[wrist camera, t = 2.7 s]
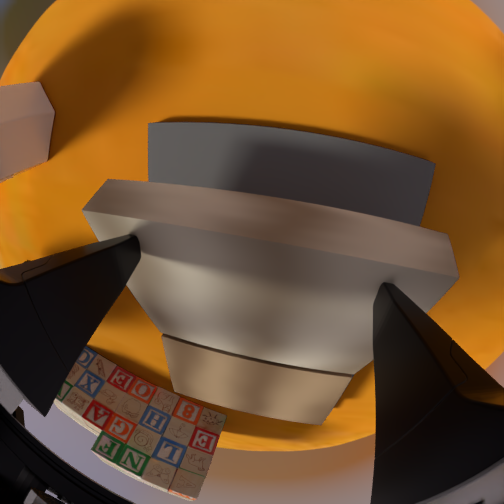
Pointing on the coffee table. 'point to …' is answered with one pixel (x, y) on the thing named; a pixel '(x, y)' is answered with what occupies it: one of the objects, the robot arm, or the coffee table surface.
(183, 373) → the oak board
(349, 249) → the ash plank
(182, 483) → the stack of blocks
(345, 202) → the underlay mat
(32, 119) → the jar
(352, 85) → the coffee table surface
